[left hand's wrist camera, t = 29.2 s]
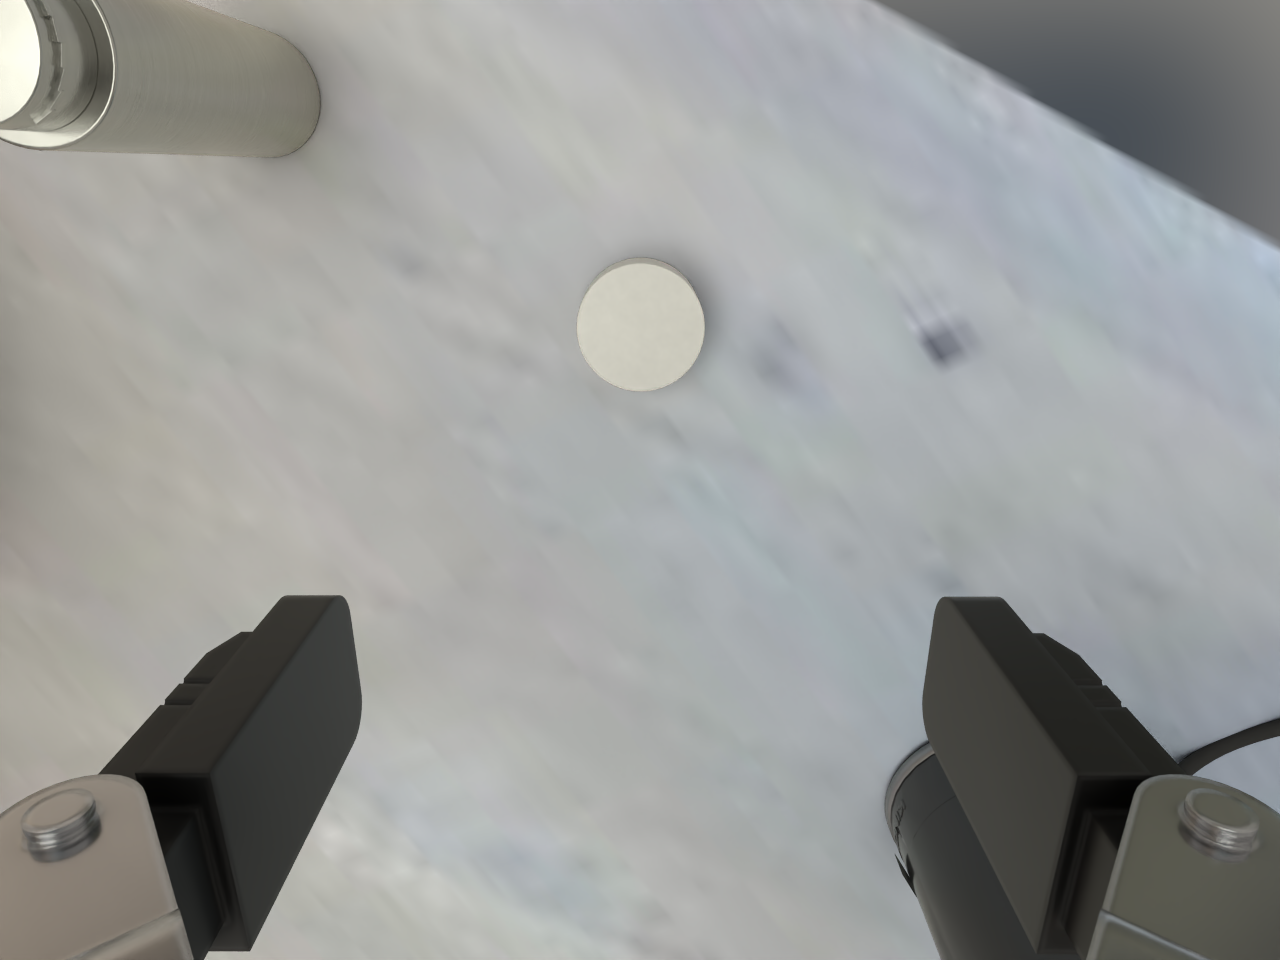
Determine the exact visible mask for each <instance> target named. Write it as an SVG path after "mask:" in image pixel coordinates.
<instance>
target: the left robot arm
mask: <svg viewBox="0 0 1280 960" xmlns="http://www.w3.org/2000/svg"><path fill="white" fill-rule="evenodd" d="M922 707H923V719H924V725H925V730H926V734H927V737H928V740H929V742H930V743H928V744H926V745H925V746H923V747H922V748H920V749H919V750H917V751H916V752H915V753H913V754H912V755H911V756H910V757H909V758H908V759H907V760H906V761H905V762H904V763H903V764H902V765H901V767H900V768H899V769H898V770H897V772H896V773H895V775H894V777H893V778H892V780H891V783H890V785H889V787H888V790H887V794H886V799H885V815H886V820H887V824H888V827H889V829H890V832H891V834H892V837H893V839H894V841H895V843H896V845H897V847H898V850H899V853H900V855H901V858H902V860H903V862H904V863H905V866H906V869H907V871H908V874H909V876H908V874H907V872H906V871H905V869H904V868H903V866H902V864H901V863H900V861H899V860H898V858H897V856H896V855H895V856H896V858H897V861H898V864H899V866H900V869H901V872H902V874H903V876H904V878H905V879H906V881H907V882H908V884H909V886H910V887H911V889H912V890H913V892H914V894H915V895H916V897H917V898H918V901H919V903H920V906H921V908H922V911H923V914H924V916H925V919H926V922H927V924H928V927H929V929H930V932H931V935H932V937H933V940H934V942H935V945H936V948H937V950H938V953H939V955H940V958H941V960H1280V814H1278V813H1277V812H1276V811H1274V810H1273V809H1271V808H1270V807H1269V806H1267V805H1266V804H1264V803H1262V802H1261V801H1259V800H1257V799H1256V798H1254V797H1252V796H1250V795H1248V794H1246V793H1244V792H1242V791H1240V790H1238V789H1235V788H1233V787H1230V786H1228V785H1225V784H1222V783H1219V782H1216V781H1213V780H1209V779H1205V778H1201V777H1196V776H1192V775H1193V774H1194V773H1196V772H1197V771H1198V770H1200V769H1201V768H1202V767H1204V766H1205V765H1207V764H1209V763H1210V762H1212V761H1213V760H1215V759H1217V758H1219V757H1221V756H1223V755H1225V754H1227V753H1229V752H1232V751H1234V750H1236V749H1239V748H1242V747H1244V746H1247V745H1250V744H1253V743H1256V742H1259V741H1263V740H1266V739H1270V738H1273V737H1277V736H1280V719H1278V720H1274V721H1271V722H1267V723H1264V724H1261V725H1258V726H1255V727H1252V728H1249V729H1246V730H1243V731H1241V732H1238V733H1236V734H1233V735H1231V736H1229V737H1226V738H1223V739H1221V740H1218V741H1216V742H1214V743H1211V744H1209V745H1207V746H1205V747H1203V748H1201V749H1199V750H1197V751H1195V752H1194V753H1192V754H1190V755H1189V756H1188V757H1186V758H1185V759H1184V760H1182V761H1181V762H1180V763H1179V764H1177V763H1176V762H1175V761H1174V760H1173V759H1172V758H1171V756H1170V755H1169V754H1168V753H1167V752H1166V751H1165V750H1164V749H1163V748H1162V746H1161V745H1160V744H1159V743H1158V742H1157V741H1156V740H1155V739H1154V738H1153V736H1152V735H1151V734H1150V733H1149V732H1148V731H1147V730H1146V729H1145V728H1144V727H1143V725H1142V724H1141V723H1140V722H1139V721H1138V720H1137V719H1136V718H1135V717H1134V715H1133V714H1132V713H1131V712H1130V711H1129V710H1128V709H1127V708H1126V707H1122V706H1121V701H1120V700H1119V699H1118V698H1117V697H1116V696H1115V694H1114V693H1113V692H1112V691H1111V690H1110V689H1109V688H1108V687H1107V686H1103V685H1102V680H1101V679H1100V678H1099V677H1098V676H1097V675H1096V673H1095V672H1094V671H1093V670H1092V669H1091V668H1090V667H1089V666H1088V665H1087V663H1086V662H1085V661H1084V660H1083V659H1082V658H1081V657H1080V656H1079V655H1078V654H1076V653H1075V652H1073V651H1072V650H1070V649H1068V648H1067V647H1065V646H1063V645H1062V644H1060V643H1058V642H1057V641H1055V640H1054V639H1052V638H1050V637H1049V636H1047V635H1045V634H1044V633H1032V632H1031V631H1030V630H1029V628H1028V627H1027V626H1026V625H1025V624H1024V622H1023V621H1022V620H1021V619H1020V618H1019V617H1018V615H1017V614H1016V613H1015V612H1014V611H1013V609H1012V608H1011V607H1010V606H1009V605H1008V604H1007V602H1006V601H1005V600H1004V599H1002V598H1001V597H942V598H941V599H940V600H939V602H938V604H937V606H936V609H935V614H934V620H933V627H932V634H931V641H930V648H929V655H928V662H927V669H926V676H925V683H924V690H923V701H922ZM361 710H362V695H361V686H360V679H359V672H358V665H357V658H356V651H355V644H354V637H353V630H352V622H351V615H350V610H349V606H348V603H347V601H346V600H345V598H344V597H343V596H340V595H287V596H284V597H282V598H281V599H280V600H279V601H278V602H277V603H276V605H275V606H274V607H273V608H272V609H271V611H270V612H269V613H268V614H267V615H266V616H265V618H264V619H263V620H262V621H261V622H260V624H259V625H258V626H257V627H256V628H255V630H254V631H253V632H240V633H239V634H237V635H236V636H234V637H232V638H231V639H229V640H227V641H226V642H224V643H223V644H221V645H219V646H218V647H216V648H214V649H213V650H211V651H210V652H208V653H206V655H205V656H204V657H203V658H202V659H201V660H200V661H199V662H198V663H197V665H196V666H195V667H194V668H193V669H192V670H191V671H190V672H189V674H188V675H187V676H186V677H185V678H184V683H183V684H179V685H178V686H177V687H176V688H175V689H174V690H173V691H172V692H171V694H170V695H169V696H168V697H167V698H166V699H165V705H160V706H159V707H158V708H157V709H156V710H155V711H154V713H153V714H152V715H151V716H150V717H149V718H148V719H147V720H146V722H145V723H144V724H143V725H142V726H141V727H140V728H139V729H138V730H137V732H136V733H135V734H134V735H133V736H132V737H131V738H130V739H129V741H128V742H127V743H126V744H125V745H124V746H123V747H122V748H121V749H120V751H119V752H118V753H117V754H116V755H115V756H114V757H113V758H112V760H111V761H110V762H109V763H108V764H107V765H106V766H105V767H104V768H103V770H102V771H101V772H100V773H99V774H98V775H91V776H84V777H79V778H75V779H71V780H67V781H64V782H61V783H58V784H55V785H52V786H50V787H47V788H45V789H42V790H40V791H38V792H36V793H34V794H32V795H30V796H28V797H26V798H24V799H23V800H21V801H19V802H18V803H16V804H14V805H13V806H11V807H10V808H9V809H7V810H6V811H4V812H3V813H2V814H0V960H204V958H205V957H206V955H207V953H208V951H250V950H251V948H252V946H253V944H254V942H255V940H256V938H257V936H258V934H259V932H260V930H261V928H262V926H263V924H264V922H265V920H266V918H267V916H268V914H269V912H270V910H271V908H272V906H273V904H274V902H275V900H276V898H277V896H278V894H279V892H280V890H281V888H282V886H283V884H284V882H285V880H286V878H287V876H288V874H289V872H290V870H291V868H292V866H293V864H294V862H295V860H296V858H297V856H298V854H299V852H300V850H301V848H302V846H303V844H304V842H305V840H306V838H307V836H308V834H309V832H310V830H311V828H312V826H313V824H314V822H315V820H316V818H317V816H318V814H319V812H320V810H321V808H322V806H323V804H324V802H325V800H326V798H327V796H328V794H329V792H330V790H331V788H332V786H333V784H334V782H335V780H336V778H337V776H338V774H339V772H340V770H341V768H342V766H343V764H344V762H345V760H346V758H347V756H348V754H349V752H350V750H351V748H352V746H353V744H354V741H355V739H356V736H357V733H358V730H359V725H360V719H361Z"/></svg>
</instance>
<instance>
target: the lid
mask: <svg viewBox="0 0 1280 960" xmlns="http://www.w3.org/2000/svg"><path fill="white" fill-rule="evenodd" d="M704 334H705V321H704V315H703V310H702V307H701V304H700V301H699V299H698V297H697V295H696V293H695V291H694V289H693V287H692V286H691V284H690V283H689V281H688V280H687V279H686V278H685V277H684V276H683V274H681V273H680V272H679V271H678V270H677V269H675V268H674V267H672V266H670V265H669V264H666V263H664V262H662V261H659V260H655V259H650V258H631V259H626V260H622V261H620V262H617V263H615V264H613V265H611V266H609V267H608V268H606V269H605V270H604V271H602V272H601V273H600V274H599V275H598V276H597V277H596V278H595V279H594V281H593V282H592V283H591V284H590V286H589V288H588V290H587V291H586V294H585V296H584V298H583V301H582V303H581V305H580V308H579V312H578V317H577V338H578V343H579V346H580V349H581V352H582V354H583V356H584V358H585V360H586V361H587V363H588V364H589V366H590V367H591V368H592V370H593V371H594V372H595V373H596V374H597V375H598V376H600V377H601V378H602V379H604V380H605V381H607V382H608V383H610V384H612V385H614V386H616V387H619V388H622V389H625V390H630V391H652V390H656V389H660V388H663V387H665V386H668V385H670V384H671V383H673V382H675V381H676V380H678V379H679V378H681V377H682V376H683V375H684V374H685V373H686V372H687V371H688V370H689V369H690V368H691V366H692V365H693V364H694V362H695V361H696V359H697V357H698V355H699V353H700V351H701V347H702V344H703V340H704Z"/></svg>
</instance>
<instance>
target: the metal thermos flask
mask: <svg viewBox="0 0 1280 960" xmlns="http://www.w3.org/2000/svg"><path fill="white" fill-rule="evenodd" d="M319 111H320V95H319V89H318V85H317V81H316V78H315V76H314V73H313V71H312V69H311V67H310V65H309V64H308V62H307V61H306V59H305V58H304V56H303V55H302V54H301V53H300V52H299V51H298V50H297V49H296V48H295V47H294V46H293V45H292V44H291V43H289V42H288V41H287V40H285V39H284V38H282V37H280V36H278V35H276V34H274V33H272V32H269V31H266V30H264V29H261V28H258V27H256V26H253V25H250V24H248V23H245V22H242V21H239V20H237V19H234V18H231V17H229V16H226V15H223V14H221V13H218V12H215V11H213V10H210V9H207V8H204V7H202V6H199V5H196V4H194V3H191V2H188V1H186V0H0V139H1V140H3V141H5V142H8V143H10V144H13V145H15V146H19V147H23V148H27V149H34V150H47V151H79V152H110V153H142V154H174V155H206V156H237V157H280V156H284V155H287V154H290V153H292V152H294V151H296V150H297V149H299V148H300V147H301V146H302V145H303V144H304V143H306V142H307V140H308V139H309V138H310V136H311V135H312V133H313V131H314V129H315V127H316V124H317V121H318V117H319Z"/></svg>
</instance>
